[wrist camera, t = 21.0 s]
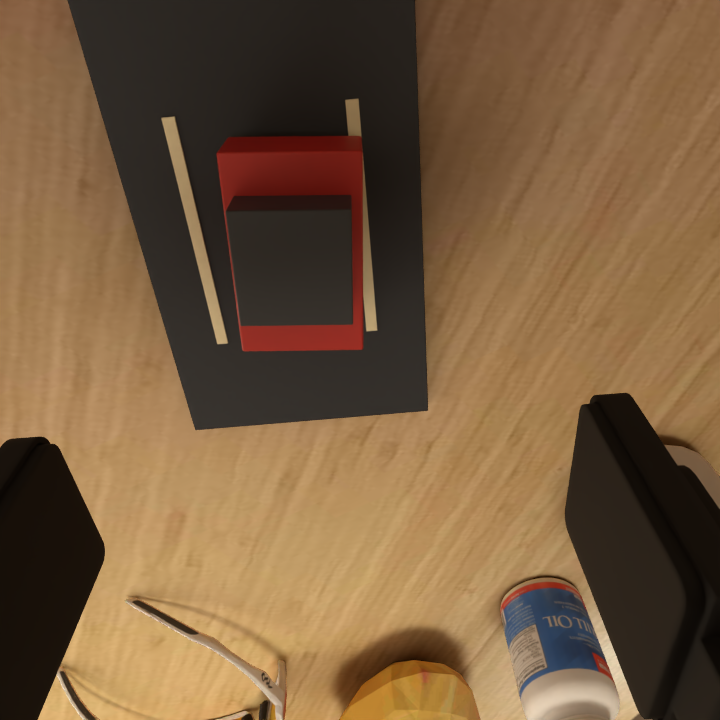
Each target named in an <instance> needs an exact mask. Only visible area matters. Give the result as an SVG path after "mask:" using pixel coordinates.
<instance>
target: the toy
mask: <svg viewBox="0 0 720 720" xmlns="http://www.w3.org/2000/svg"><path fill="white" fill-rule="evenodd" d="M339 720H480V716H479V713H478V710H477V706H476V703H475V699H474V696H473V693H472V690H471V689H470V687H469V686H468V684H467V683H466V681H465V680H464V679H463V677H462V676H461V674H459V673H458V672H456V671H454V670H453V669H451V668H450V667H448V666H446V665H445V664H441V663H433V662H425V661H417V660H411V661H404V662H396V663H392V664H391V665H389V666H388V667H386V668H385V669H384V670H382V671H381V672H379V673H378V674H376V675H375V676H374V677H372V678H371V679H369V680H368V681H367V682H365V683H364V684H362V686H361V687H360V689H359V690H358V692H357V693H356V695H355V696H354V697H353V699H352V700H351V702H350V703H349V705H348V707H347V708H346V710H345V711H344V713H343V714H342V716H341V718H340V719H339Z"/></svg>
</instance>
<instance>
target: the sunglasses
mask: <svg viewBox="0 0 720 720" xmlns="http://www.w3.org/2000/svg"><path fill="white" fill-rule="evenodd" d="M125 602H126V603H127V604H129V605H130V606H132V607H134V608H135V609H137V610H139V611H141V612H142V613H144V614H146V615H148V616H150V617H151V618H153V619H155V620H157V621H158V622H160V623H162V624H164V625H166V626H167V627H169V628H171V629H173V630H174V631H176V632H178V633H179V634H181V635H183V636H185V637H186V638H188V639H190V640H192V641H194V642H196V643H199V644H201V645H203V646H205V647H207V648H209V649H211V650H213V651H215V652H216V653H218V654H219V655H221V656H222V657H224V658H225V659H226V660H228V661H229V662H231V663H232V664H234V665H235V666H236V667H237V668H238V669H240V670H241V671H242V672H243V673H244V674H246V675H247V676H248V677H249V678H250V679H251V680H252V681H253V682H254V683H255V684H256V685H257V686H258V687H259V688H260V689H261V691H262V692H263V693H264V694H265V695H266V696H267V697H268V698H269V700H266V701H264V702H263V703H261V704H260V711H259V720H284V719H285V712H286V697H287V692H286V666H285V662H284V661H282V660H279V661H278V670H279V674H278V678H277V681H276V683H274V682H273V681H272V679H271V678H270V677H269V676H268V674H267V673H266V672H265V671H263V670H260V669H258V668H256V667H254V666H252V665H250V664H249V663H247V662H246V661H244V660H243V659H241V658H240V657H238V656H237V655H235V654H234V653H233V652H231V651H230V650H229V649H227V648H226V647H225V646H224V645H222V644H221V643H220V642H219V641H218V640H216V639H215V638H213V637H211V636H208V635H206V634H203V633H201V632H199V631H197V630H195V629H193V628H191V627H189V626H188V625H186V624H184V623H182V622H180V621H178V620H176V619H175V618H173V617H171V616H169V615H167V614H165V613H164V612H162V611H160V610H158V609H156V608H155V607H153V606H151V605H149V604H147V603H146V602H144V601H142V600H140V599H138V598H129V599H126V600H125ZM57 676H58V679H59V681H60V683H61V685H62V687H63V689H64V691H65V693H66V695H67V697H68V699H69V701H70V703H71V704H72V705H73V707H74V708H75V710H76V711H77V712H78V714H79V715H80V717H81V718H82V719H83V720H100V719H98V718H97V717H96V716H95V715H94V714H92V713H91V712H90V710H89V709H88V708H87V707H86V705H85V704H84V703H83V702H82V700H81V699H80V698H79V696H78V694H77V693H76V691H75V689H74V687H73V685H72V683H71V682H70V680H69V678H68V676H67V674H66V672H65V670H64V668H62V667H59V669H58V672H57ZM216 720H255V719H254V717H253V715H252V713H250V712H247V711H243V712H239V713H236V714H233V715H230V716H226V717H223V718H219V719H216Z"/></svg>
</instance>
